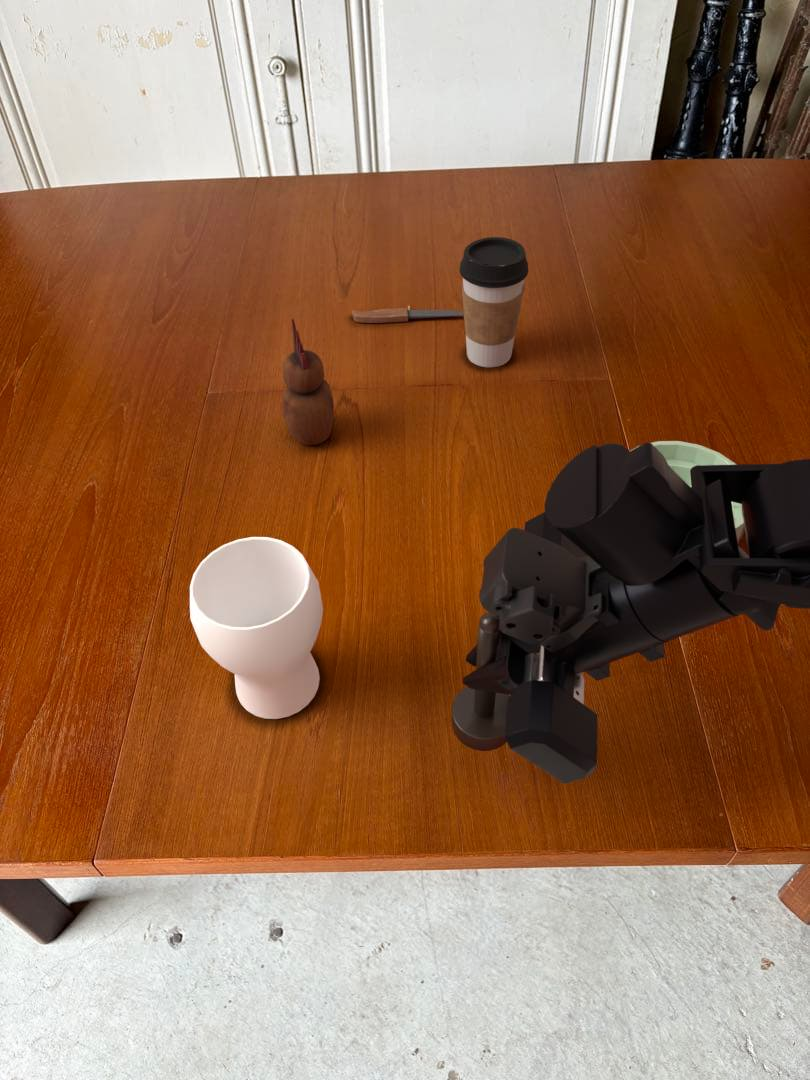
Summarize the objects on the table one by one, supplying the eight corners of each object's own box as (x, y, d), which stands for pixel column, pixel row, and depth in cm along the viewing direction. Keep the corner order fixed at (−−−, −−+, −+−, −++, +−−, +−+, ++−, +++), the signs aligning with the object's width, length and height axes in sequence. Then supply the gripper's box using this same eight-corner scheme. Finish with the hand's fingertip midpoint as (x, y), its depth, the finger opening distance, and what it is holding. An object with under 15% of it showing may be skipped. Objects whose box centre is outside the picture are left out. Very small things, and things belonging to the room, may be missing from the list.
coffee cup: (448, 365, 107) (449, 260, 96) (469, 331, 112) (473, 227, 101) (510, 379, 105) (518, 273, 93) (528, 343, 110) (538, 238, 98)
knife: (469, 300, 115) (471, 312, 113) (469, 306, 116) (471, 318, 114) (352, 306, 115) (352, 318, 113) (352, 313, 115) (352, 325, 113)
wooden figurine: (292, 416, 101) (274, 310, 90) (338, 416, 101) (326, 310, 89) (285, 453, 96) (265, 346, 85) (333, 453, 96) (320, 346, 85)
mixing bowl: (767, 550, 84) (783, 517, 80) (644, 585, 82) (654, 552, 78) (695, 462, 93) (706, 428, 90) (582, 491, 91) (588, 457, 87)
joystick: (524, 740, 64) (540, 636, 53) (464, 759, 63) (469, 656, 52) (500, 688, 67) (511, 579, 56) (443, 705, 66) (443, 598, 56)
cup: (336, 728, 72) (317, 630, 61) (216, 739, 72) (175, 642, 60) (333, 630, 79) (316, 526, 68) (224, 639, 79) (189, 536, 67)
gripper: (572, 421, 53) (410, 520, 63) (560, 661, 41) (361, 738, 50) (671, 516, 58) (506, 594, 67) (687, 756, 45) (483, 810, 55)
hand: (468, 672), depth 60 cm, fingers closed on joystick
